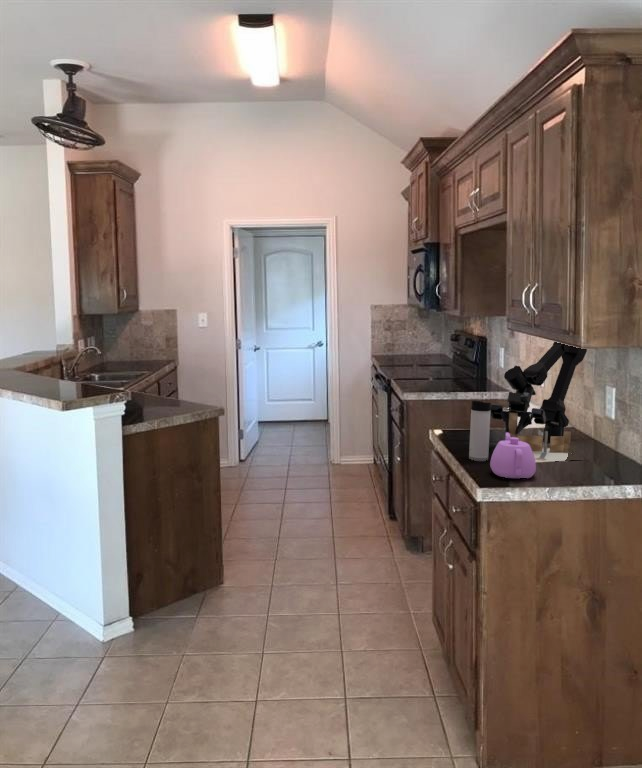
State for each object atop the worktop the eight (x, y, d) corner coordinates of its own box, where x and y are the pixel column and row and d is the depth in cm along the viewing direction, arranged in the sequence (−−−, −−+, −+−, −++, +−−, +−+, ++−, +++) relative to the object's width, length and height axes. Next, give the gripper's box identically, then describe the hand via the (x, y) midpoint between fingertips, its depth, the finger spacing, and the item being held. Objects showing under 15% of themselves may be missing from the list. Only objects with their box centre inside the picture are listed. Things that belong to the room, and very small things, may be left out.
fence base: (566, 451, 253) (567, 430, 252) (570, 453, 250) (572, 432, 250) (543, 452, 251) (544, 431, 250) (547, 454, 248) (549, 433, 247)
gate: (540, 450, 252) (542, 412, 250) (543, 451, 249) (545, 413, 247) (506, 450, 251) (508, 412, 249) (509, 451, 248) (511, 413, 246)
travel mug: (464, 459, 239) (467, 399, 236) (475, 456, 244) (477, 397, 241) (481, 462, 235) (484, 402, 232) (491, 459, 239) (494, 400, 237)
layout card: (556, 448, 258) (556, 447, 258) (586, 460, 241) (586, 459, 241) (503, 450, 253) (503, 450, 253) (530, 462, 236) (530, 462, 236)
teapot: (542, 484, 210) (544, 444, 208) (495, 482, 210) (497, 443, 209) (525, 467, 230) (527, 431, 228) (483, 466, 230) (485, 430, 229)
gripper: (492, 381, 255) (480, 416, 247) (545, 386, 245) (535, 422, 237) (498, 400, 263) (486, 435, 255) (550, 405, 253) (540, 441, 245)
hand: (511, 433), depth 248 cm, fingers closed on gate, 3 cm apart
